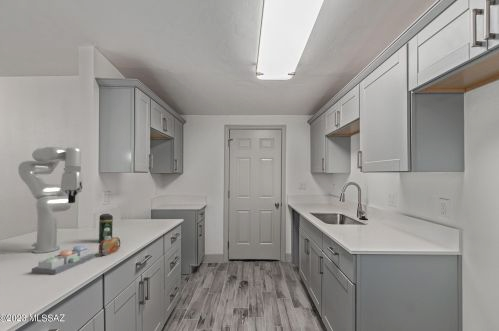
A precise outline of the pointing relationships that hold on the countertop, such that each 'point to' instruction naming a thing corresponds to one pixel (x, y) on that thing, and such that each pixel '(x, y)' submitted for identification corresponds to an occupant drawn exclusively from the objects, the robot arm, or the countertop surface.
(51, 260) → the green button
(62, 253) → the terracotta button
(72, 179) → the robot arm
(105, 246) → the tin
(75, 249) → the slate button
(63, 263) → the button panel
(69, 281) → the countertop surface
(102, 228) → the coffee jar
